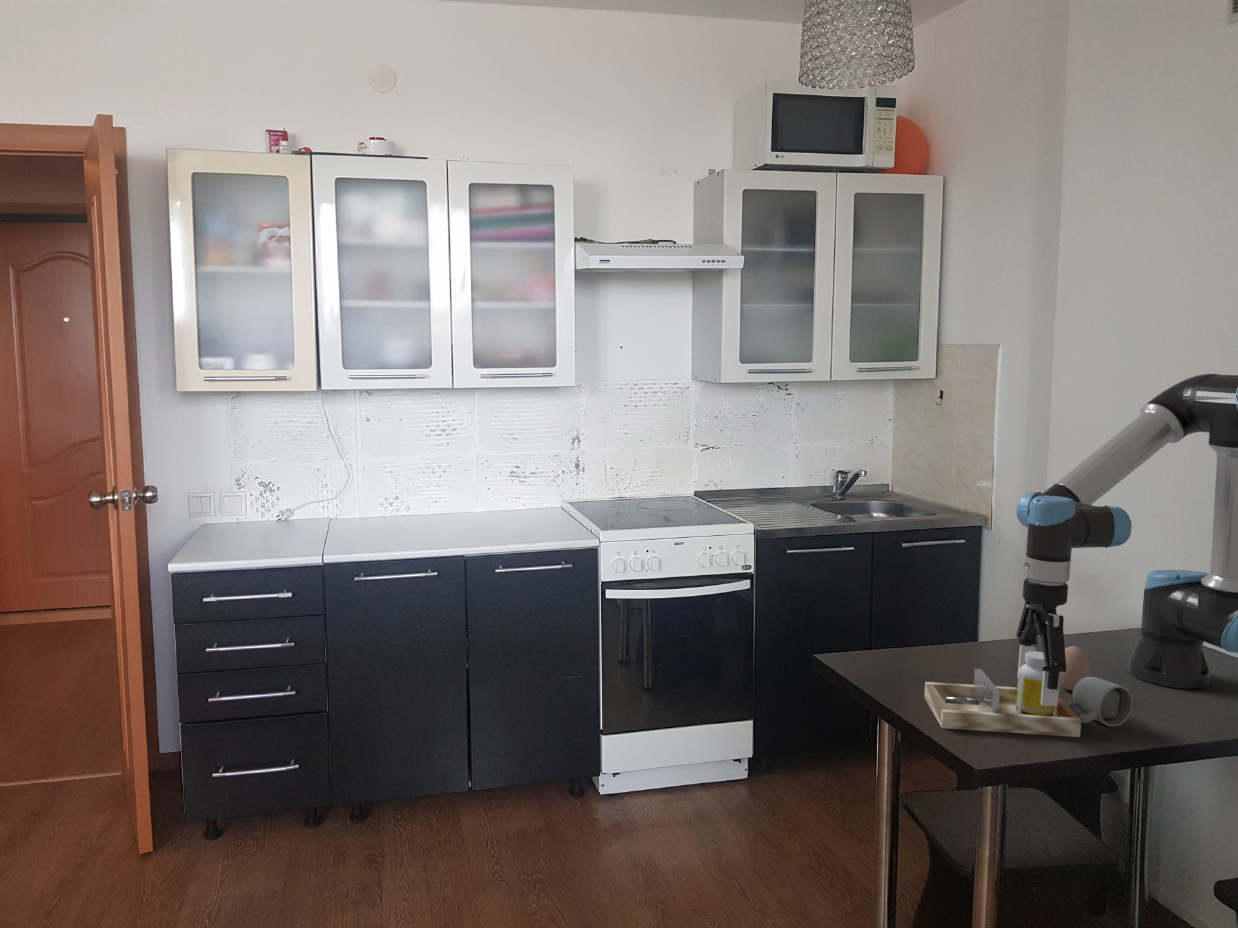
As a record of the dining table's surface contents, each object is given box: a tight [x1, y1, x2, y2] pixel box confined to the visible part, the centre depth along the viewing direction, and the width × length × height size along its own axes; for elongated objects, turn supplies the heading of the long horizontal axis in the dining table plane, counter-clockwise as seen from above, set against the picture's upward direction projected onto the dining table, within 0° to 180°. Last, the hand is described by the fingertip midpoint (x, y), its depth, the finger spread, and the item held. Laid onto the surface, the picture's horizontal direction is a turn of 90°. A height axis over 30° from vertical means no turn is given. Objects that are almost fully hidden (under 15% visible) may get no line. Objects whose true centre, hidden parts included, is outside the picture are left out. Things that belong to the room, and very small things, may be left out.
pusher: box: [945, 668, 1000, 713], centre depth 180 cm, size 8×12×6 cm, turn 174°
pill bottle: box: [1016, 650, 1054, 716], centre depth 179 cm, size 6×6×12 cm
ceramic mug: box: [1066, 676, 1133, 728], centre depth 179 cm, size 11×8×8 cm
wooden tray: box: [923, 681, 1082, 738], centre depth 180 cm, size 24×15×3 cm, turn 84°
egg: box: [1055, 645, 1092, 692], centre depth 194 cm, size 7×7×9 cm
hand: (1036, 691), depth 179 cm, fingers open, 13 cm apart
